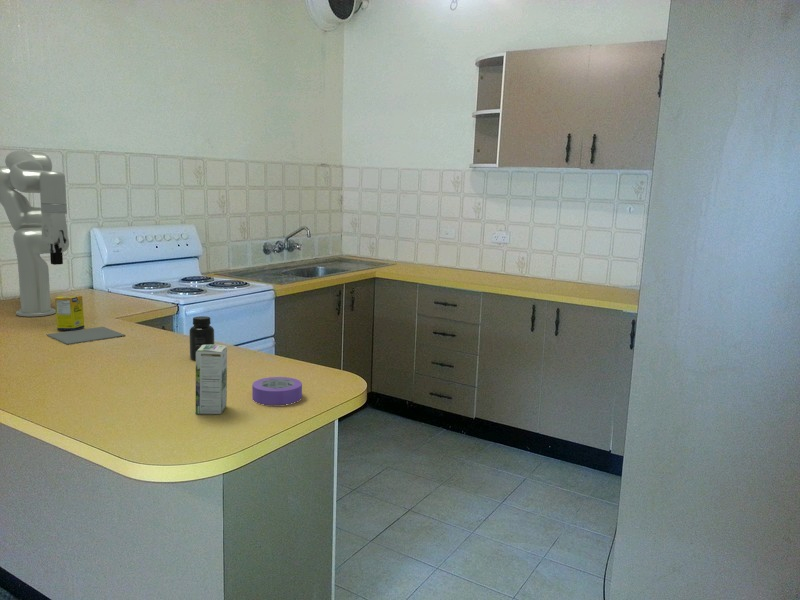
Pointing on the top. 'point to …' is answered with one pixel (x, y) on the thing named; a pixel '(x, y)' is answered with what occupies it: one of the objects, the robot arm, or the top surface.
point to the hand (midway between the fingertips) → (56, 264)
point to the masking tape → (277, 391)
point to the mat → (85, 335)
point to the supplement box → (69, 312)
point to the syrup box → (211, 379)
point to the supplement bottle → (200, 334)
